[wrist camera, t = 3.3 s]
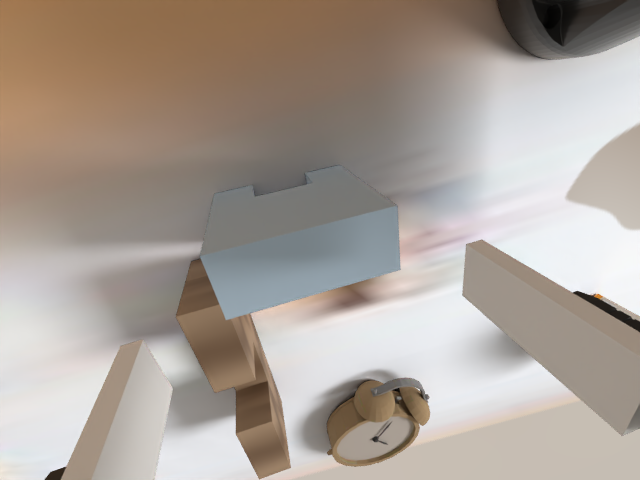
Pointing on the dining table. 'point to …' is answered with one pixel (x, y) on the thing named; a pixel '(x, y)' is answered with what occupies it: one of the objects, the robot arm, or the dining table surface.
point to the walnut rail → (236, 371)
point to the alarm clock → (377, 422)
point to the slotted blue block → (297, 240)
